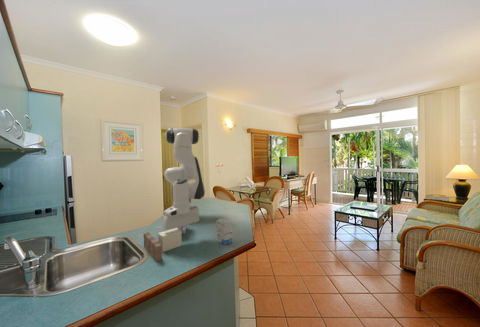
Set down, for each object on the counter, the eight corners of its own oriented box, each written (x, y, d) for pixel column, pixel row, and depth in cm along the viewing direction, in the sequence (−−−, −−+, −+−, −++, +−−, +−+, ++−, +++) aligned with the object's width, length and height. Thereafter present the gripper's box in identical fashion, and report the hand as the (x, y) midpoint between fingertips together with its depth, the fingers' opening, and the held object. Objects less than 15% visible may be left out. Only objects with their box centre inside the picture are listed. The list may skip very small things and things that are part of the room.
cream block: (158, 247, 102) (158, 232, 101) (176, 241, 109) (176, 227, 108) (162, 252, 98) (162, 236, 97) (181, 245, 104) (181, 230, 104)
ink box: (232, 242, 107) (232, 221, 106) (226, 245, 104) (225, 223, 103) (223, 237, 113) (222, 217, 113) (216, 240, 110) (215, 219, 109)
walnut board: (144, 246, 104) (143, 233, 103) (148, 244, 105) (148, 232, 105) (156, 261, 89) (156, 246, 89) (162, 259, 91) (161, 245, 90)
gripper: (195, 204, 116) (196, 226, 117) (161, 211, 102) (162, 236, 103) (201, 206, 111) (201, 229, 112) (165, 214, 97) (166, 240, 98)
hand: (182, 233), depth 107 cm, fingers closed
